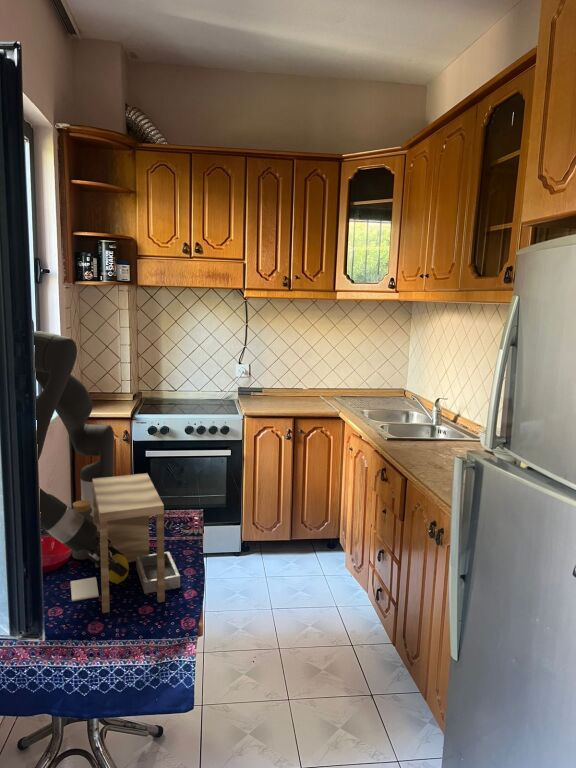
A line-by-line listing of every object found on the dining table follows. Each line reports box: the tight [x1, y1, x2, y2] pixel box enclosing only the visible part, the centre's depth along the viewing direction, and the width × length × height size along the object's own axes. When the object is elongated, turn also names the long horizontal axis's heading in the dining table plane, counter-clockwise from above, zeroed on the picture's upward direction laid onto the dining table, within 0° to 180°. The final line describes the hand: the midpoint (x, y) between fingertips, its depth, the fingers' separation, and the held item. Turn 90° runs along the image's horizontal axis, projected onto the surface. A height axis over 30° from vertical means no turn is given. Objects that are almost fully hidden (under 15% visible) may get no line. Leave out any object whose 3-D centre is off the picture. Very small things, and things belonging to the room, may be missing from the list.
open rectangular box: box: [135, 551, 181, 595], centre depth 142 cm, size 14×9×3 cm, turn 23°
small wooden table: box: [92, 472, 166, 614], centre depth 137 cm, size 24×14×24 cm, turn 23°
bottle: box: [71, 500, 94, 560], centre depth 151 cm, size 6×6×15 cm
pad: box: [70, 576, 100, 602], centre depth 135 cm, size 9×6×1 cm, turn 23°
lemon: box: [108, 554, 130, 585], centre depth 137 cm, size 6×6×8 cm
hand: (123, 566), depth 138 cm, fingers open, 7 cm apart
